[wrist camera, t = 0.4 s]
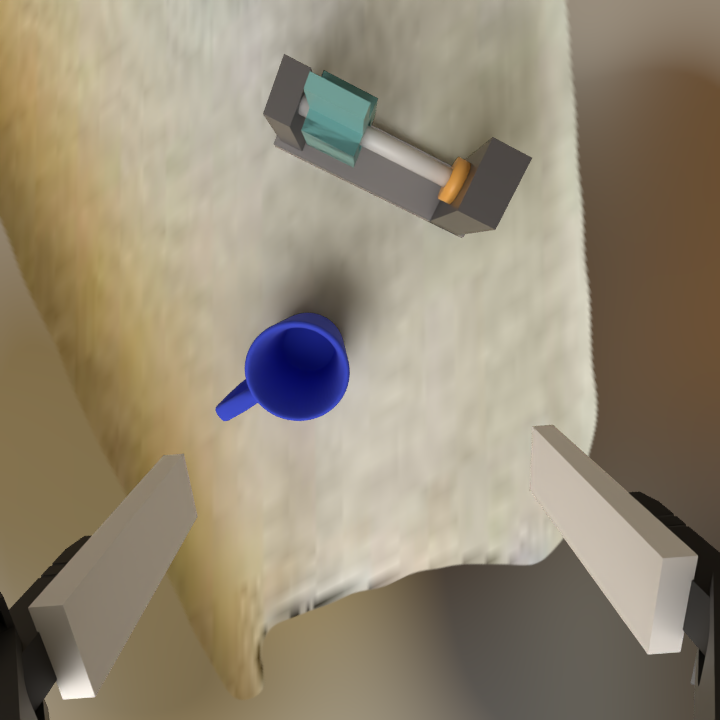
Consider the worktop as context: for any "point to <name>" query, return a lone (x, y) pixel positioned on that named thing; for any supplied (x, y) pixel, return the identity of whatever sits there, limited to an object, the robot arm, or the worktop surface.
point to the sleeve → (337, 116)
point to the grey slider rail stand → (404, 165)
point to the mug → (292, 370)
